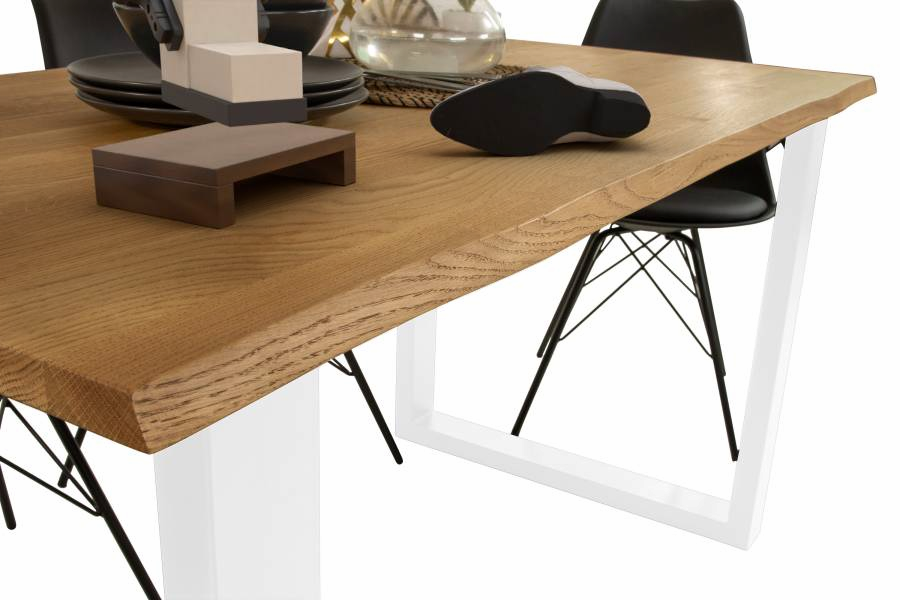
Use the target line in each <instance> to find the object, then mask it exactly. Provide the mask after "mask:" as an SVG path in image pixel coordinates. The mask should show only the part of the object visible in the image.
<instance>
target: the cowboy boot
mask: <svg viewBox="0 0 900 600" xmlns="http://www.w3.org/2000/svg"><path fill="white" fill-rule="evenodd" d="M651 117H652V113H651V111H650V109H649V107H648V105H647V104H646V102H645V100H644V98H643V96H642V95H641V94H640V93H639V92H638V91H637V90H636V89H634V88H633V87H632V86H630V85H628V84H626V83H622V82H619V81H616V80H615V81H614V80H610V79H607V78H606V79H605V78H596V77H588V76H587V75H584V74H583V73H581V72H579V71H577V70H575V69H574V68H572V67H569V66H565V65H564V66H563V65H558V66H557V65H556V66H550V67H545V66H542V65H534V66H531V67H528V68H527V69H525V70H524V71H523V72H520V73H515V74H510V75H507V76H504V77H500V78H497V79H494V80H490V81H485V82H482V83H479V84H476V85H472V86H470V87H468V88H465V89H463V90H461V91H458V92H457V93H454V94H452V95H450V96H448V97H447V98H445V99H444V100H442V101H440V102H439V103H438V104H436V105H435V106H434V107H433V108H432V109H431V112H430V113H429V123H430V125H431V127H432V128H433V129H434V130H435V131H436V132H437V133H439V134H440V135H442V136H443V137H445V138H448V139H449V140H452V141H454V142H457V143H459V144H462V145H464V146H468V147H470V148H474V149H476V150H480V151H483V152H487V153H491V154H495V155H498V156H499V155H500V156H503V157H505V156H506V157H525V156H530V155H535V154H537V153H538V152H541V151H543V150H544V149H546V148H548V147H549V146H551V145H558V144H565V143H573V142H574V143H576V142H589V143H606V142H607V143H608V142H614V141H620V140H625V139H628V138H630V137H632V136H634V135H637V134H639V133H641V132H644V131H645V130H646V129H647V128H648V127H649V125H650V123H651Z"/></svg>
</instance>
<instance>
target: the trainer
mask: <svg viewBox="0 0 900 600" xmlns="http://www.w3.org/2000/svg"><path fill="white" fill-rule="evenodd" d="M172 1H173V4H174V6H175V9H176V11H177V14H178V16H179V19H180V22H181V24H182V27H183V31H184V37H183V40H182V43H181V46H180V49H179V51H167V49H166V46H165V44H160V43H159V54H160V69H161V80H160V86H161V88H160V89H161V100H162V102H164V103H167V104H169V105H172V106H175V107H177V108H180V109H182V110H184V111H187V112H190V113H192V114H195V115H198V116H200V117H203V118H206V119H208V120H211V121H213V122H214V123H215V122H218V123H221V124H223V125H226V126H228V127H236V126H248V125H260V124H272V123H284V122H286V123H294V122H305V121H308V98H307V97H305V96H304V95H303V93H304V90H303V52H302V51H299V50H295V49H288V48H286V47H280V46H276V45H272V44H267V43H264V42H262V43H258V23H257V0H172Z"/></svg>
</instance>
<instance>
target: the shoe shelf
mask: <svg viewBox="0 0 900 600" xmlns="http://www.w3.org/2000/svg"><path fill="white" fill-rule="evenodd" d="M356 139H357V138H356V131H353V130H345V129H339V128H330V127H323V126H316V125H309V124H301V123H294V122H284V123H272V124H260V125H248V126H236V127H228V126H226V125H223V124H221V123H218V122H215V121H214V122H210V123H206V124H201V125H196V126H191V127H187V128H181V129H178V130H173V131H172V130H171V131H168V132H163V133H158V134H153V135H148V136H143V137H140V138H139V137H138V138H135V139H129V140H125V141H121V142H120V141H119V142H116V143H110V144H106V145H101V146H97V147H92V148H91V157H92V165H93V166H92V168H93V180H94V191H95V199H96V205H97V206H102V207H109V208H112V209H118V210H124V211H129V212H132V213H133V212H134V213H139V214H142V215H147V216H148V215H149V216H153V217H159V218H164V219H169V220H173V221H179V222H182V223H187V224H188V223H189V224H192V225H199V226H203V227H209V228H213V229H219V230H220V229H223V228H227V227H228V226H232V225H235V224H236V209H235V193H234V192H235V191H234V189H235V188H234V183H235V182H239V181H242V180H246V179H249V178H253V177H256V176H259V175H263V174H268V175H274V176H280V177H286V178H293V179H299V180H304V179H306V180H305V181H310V180H312V181H311V182H317V181H318V182H317V183H323V182H325V183H324V184H329V183H333V184H332V185H335V184H339V185H338V186H341V185H346V186H348V185H347V184H349V185H351V184H350V183H352V184H354V183H353V182H355V183H357V148H356V146H357V145H356V144H357V141H356ZM326 182H327V183H326Z"/></svg>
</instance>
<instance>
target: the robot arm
mask: <svg viewBox="0 0 900 600" xmlns="http://www.w3.org/2000/svg"><path fill="white" fill-rule="evenodd" d="M111 1H112V2H113V3H115V4H116V5H119V6H121V5H122V6H125V5H127V4H128V2H129V3H133V4H136V5H138V6H139V7H140V8H141V10H142V11H144V13H145V16H146V17H147V21H148V24H149V26H150V29H151V31H152V34H153V37H154V39H155V40H156V41H157V42H158V43H159V45H160V44H165V46H166V49H167V51H179V49H180V46H181V43H182V40H183V37H184V31H183V27H182V24H181V22H180V19H179V16H178V14H177V11H176V9H175V6H174V4H173V1H172V0H111ZM268 1H269V0H257V23H258V43H264V41H265V39H266V37H267V34H268V32H269V30H270V26H271V25H270V19H269V17H268V15H267V12H266V9H265V7H264V5H263V4H267V2H268Z"/></svg>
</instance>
